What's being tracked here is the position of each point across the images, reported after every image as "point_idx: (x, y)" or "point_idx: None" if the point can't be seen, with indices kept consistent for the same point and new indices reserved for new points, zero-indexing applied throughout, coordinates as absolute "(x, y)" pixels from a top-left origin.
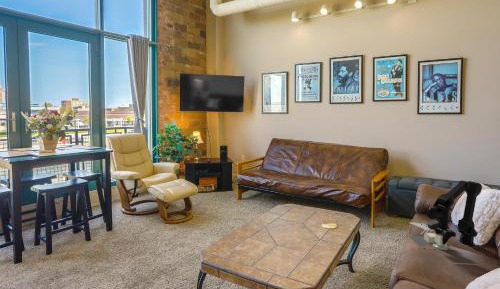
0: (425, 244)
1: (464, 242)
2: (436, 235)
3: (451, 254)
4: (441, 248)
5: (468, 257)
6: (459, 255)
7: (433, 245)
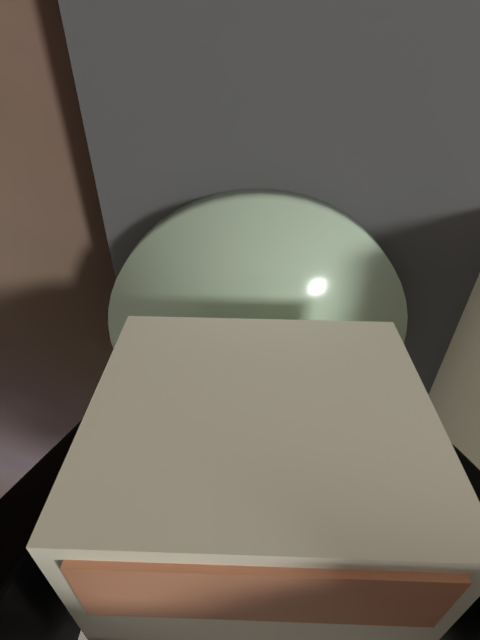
0: (435, 32)
1: None
2: (382, 506)
3: (15, 353)
4: (116, 299)
5: (4, 477)
6: (26, 427)
7: (272, 207)
